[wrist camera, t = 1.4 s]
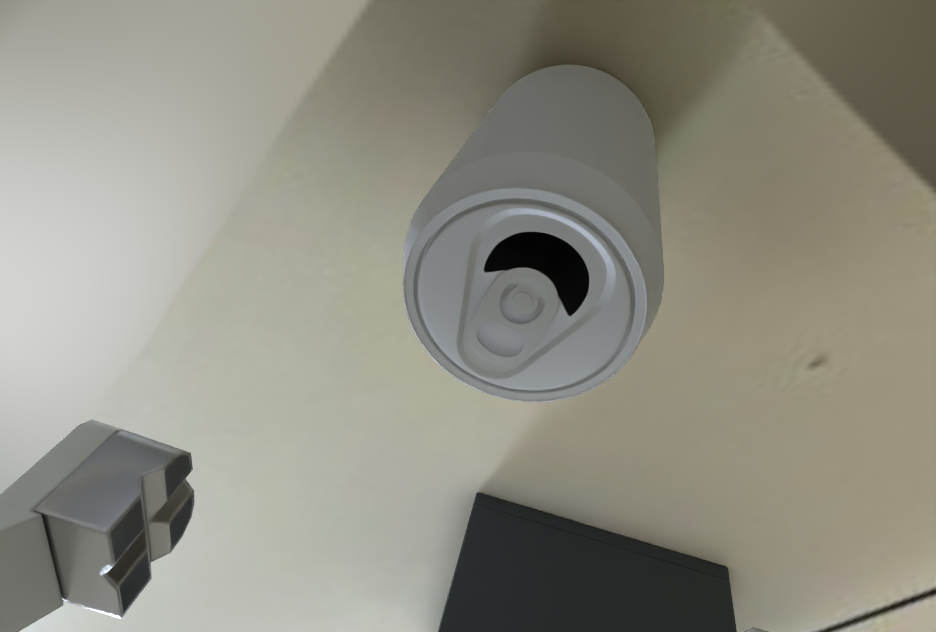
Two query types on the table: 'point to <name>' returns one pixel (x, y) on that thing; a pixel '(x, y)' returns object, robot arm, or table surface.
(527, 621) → the waste bin
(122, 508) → the robot arm
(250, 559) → the table surface
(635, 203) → the beverage can
